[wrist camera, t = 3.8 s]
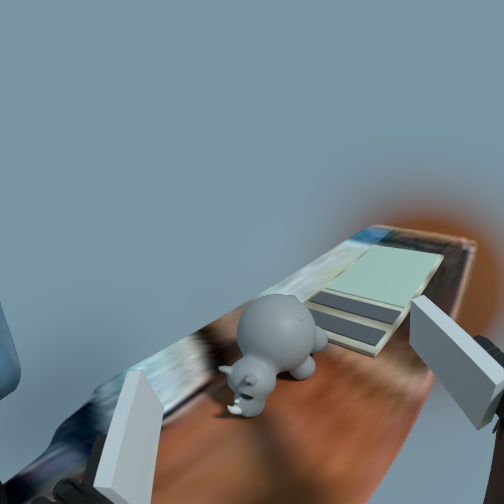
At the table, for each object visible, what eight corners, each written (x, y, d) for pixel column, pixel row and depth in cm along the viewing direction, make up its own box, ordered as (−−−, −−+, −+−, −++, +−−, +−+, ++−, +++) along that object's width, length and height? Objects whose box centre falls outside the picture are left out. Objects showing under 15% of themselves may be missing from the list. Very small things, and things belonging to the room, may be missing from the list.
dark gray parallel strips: (375, 346, 29) (375, 345, 29) (289, 317, 38) (288, 315, 38) (401, 312, 33) (401, 311, 33) (320, 292, 42) (320, 290, 42)
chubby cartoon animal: (228, 413, 29) (177, 379, 24) (284, 322, 35) (249, 273, 30) (284, 442, 24) (238, 414, 20) (341, 335, 30) (314, 282, 25)
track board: (374, 357, 28) (374, 353, 28) (281, 323, 38) (280, 320, 38) (443, 258, 42) (443, 255, 42) (373, 247, 52) (373, 245, 52)
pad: (404, 308, 33) (404, 306, 33) (324, 288, 42) (324, 287, 42) (439, 256, 42) (439, 255, 42) (374, 246, 51) (374, 245, 51)
